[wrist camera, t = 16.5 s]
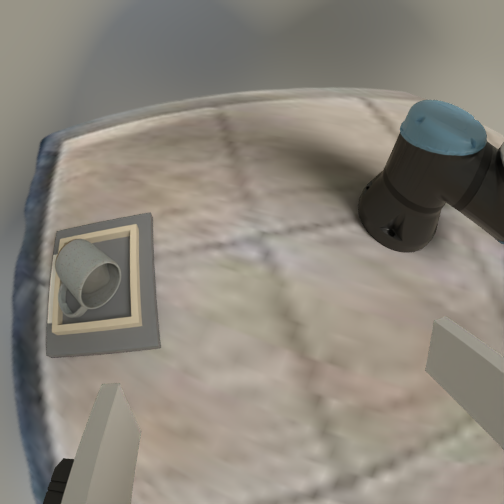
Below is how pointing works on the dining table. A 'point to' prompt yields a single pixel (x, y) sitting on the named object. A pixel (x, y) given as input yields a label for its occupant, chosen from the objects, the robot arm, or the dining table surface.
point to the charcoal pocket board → (123, 301)
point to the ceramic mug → (85, 276)
